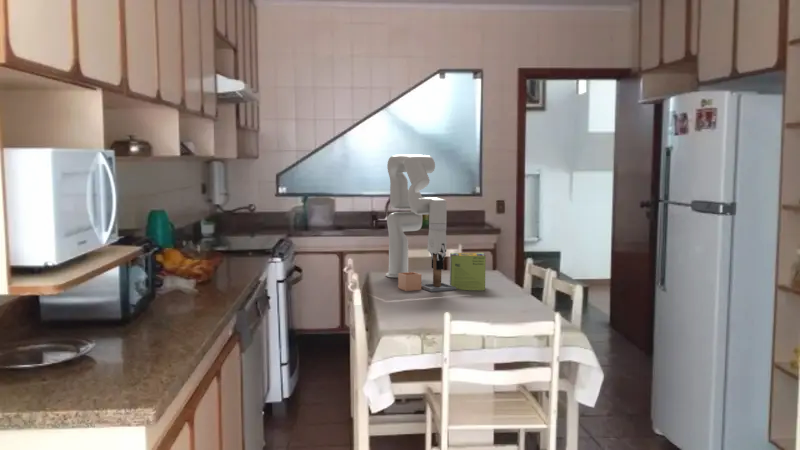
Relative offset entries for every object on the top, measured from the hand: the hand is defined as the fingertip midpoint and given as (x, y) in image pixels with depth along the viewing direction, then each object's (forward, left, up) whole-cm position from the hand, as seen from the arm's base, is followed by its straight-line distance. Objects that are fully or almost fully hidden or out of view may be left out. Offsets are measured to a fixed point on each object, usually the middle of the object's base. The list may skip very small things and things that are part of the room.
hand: (437, 268), depth 319 cm
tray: (0, 0, -10) cm, 10 cm away
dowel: (0, 0, -8) cm, 8 cm away
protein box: (0, +15, -10) cm, 18 cm away
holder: (-5, -11, -10) cm, 16 cm away
